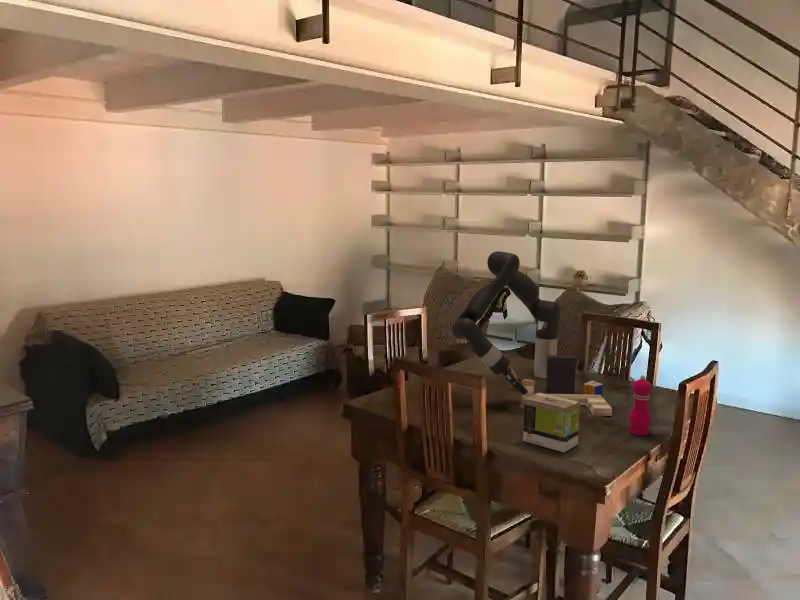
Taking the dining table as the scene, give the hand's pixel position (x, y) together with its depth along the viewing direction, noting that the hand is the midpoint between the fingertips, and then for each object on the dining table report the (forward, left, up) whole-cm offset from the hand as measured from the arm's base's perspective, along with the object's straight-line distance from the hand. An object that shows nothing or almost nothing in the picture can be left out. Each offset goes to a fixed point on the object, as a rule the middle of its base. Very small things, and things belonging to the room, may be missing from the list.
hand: (524, 389), depth 248 cm
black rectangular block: (-19, +17, -7) cm, 27 cm away
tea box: (+35, +3, -7) cm, 36 cm away
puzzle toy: (-14, +29, -7) cm, 33 cm away
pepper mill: (+24, +35, -7) cm, 43 cm away
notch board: (+1, +20, -7) cm, 22 cm away
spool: (0, +1, -7) cm, 7 cm away
